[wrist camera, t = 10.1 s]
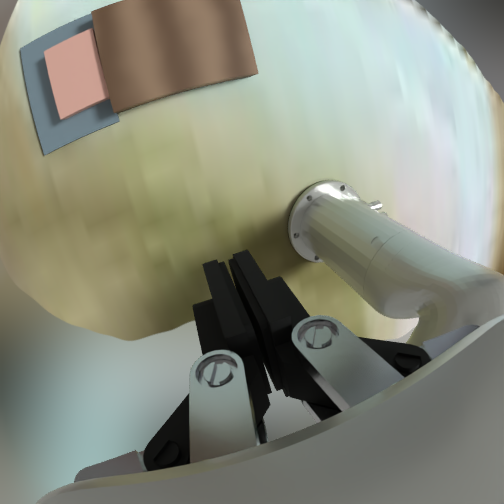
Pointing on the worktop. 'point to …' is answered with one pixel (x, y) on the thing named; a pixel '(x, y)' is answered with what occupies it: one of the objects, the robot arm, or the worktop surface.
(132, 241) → the worktop surface
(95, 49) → the tile
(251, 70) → the platform
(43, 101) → the mat
